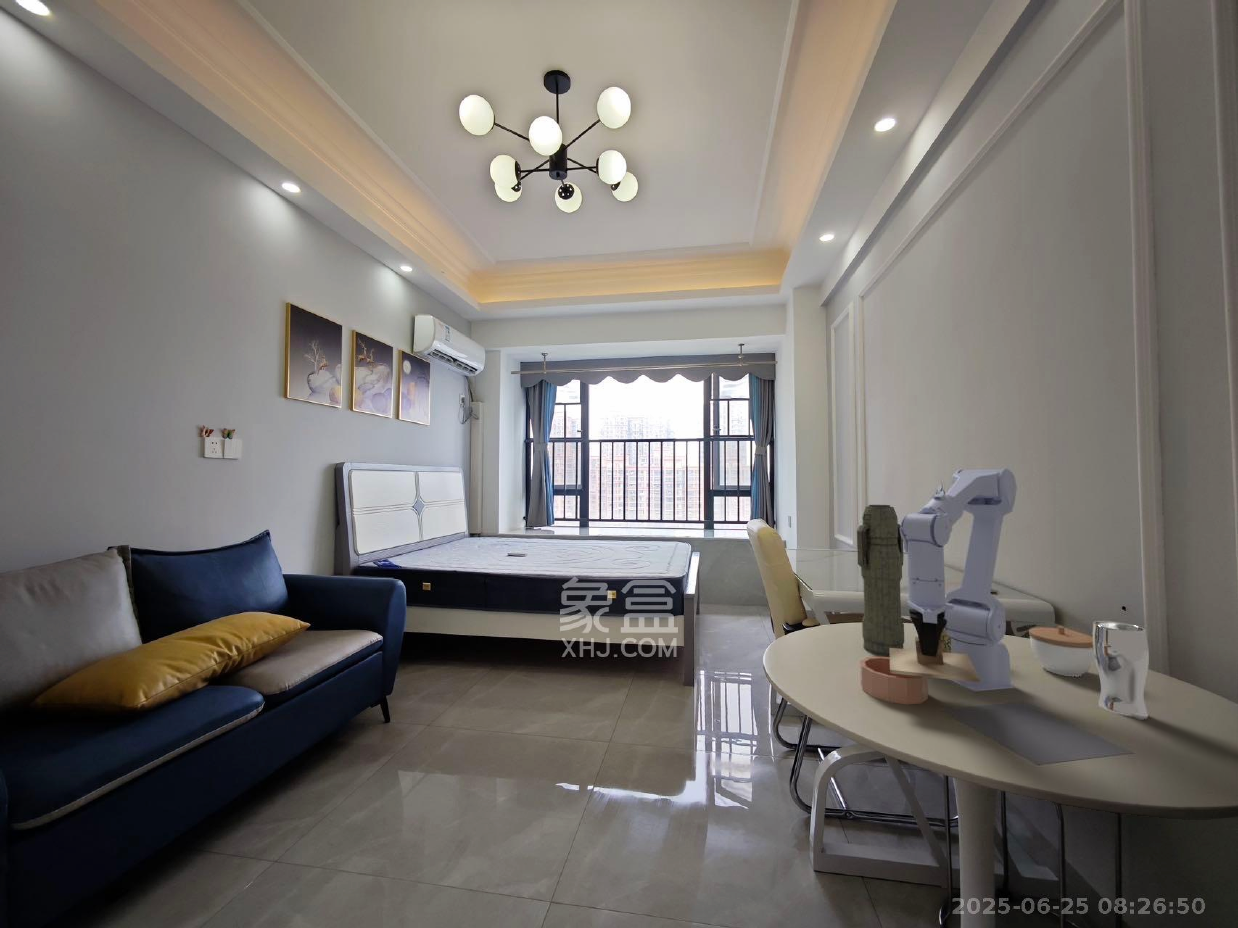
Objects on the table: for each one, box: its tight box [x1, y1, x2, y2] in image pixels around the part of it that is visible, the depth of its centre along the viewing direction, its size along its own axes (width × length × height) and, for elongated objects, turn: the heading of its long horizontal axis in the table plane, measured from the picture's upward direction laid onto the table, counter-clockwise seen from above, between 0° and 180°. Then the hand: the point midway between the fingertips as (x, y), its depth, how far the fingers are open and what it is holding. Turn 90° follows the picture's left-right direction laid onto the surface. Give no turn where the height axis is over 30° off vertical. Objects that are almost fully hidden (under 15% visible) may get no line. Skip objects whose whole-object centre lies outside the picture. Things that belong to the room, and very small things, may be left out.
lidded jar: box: [1028, 625, 1095, 678], centre depth 105 cm, size 11×11×9 cm
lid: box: [889, 636, 980, 683], centre depth 90 cm, size 13×13×5 cm
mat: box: [940, 701, 1135, 766], centre depth 79 cm, size 17×17×1 cm
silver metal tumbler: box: [1091, 620, 1150, 721], centre depth 86 cm, size 7×7×15 cm
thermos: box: [856, 504, 905, 657], centre depth 119 cm, size 9×12×35 cm
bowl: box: [859, 656, 929, 705], centre depth 94 cm, size 11×11×5 cm
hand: (928, 652), depth 90 cm, fingers closed on lid, 2 cm apart
